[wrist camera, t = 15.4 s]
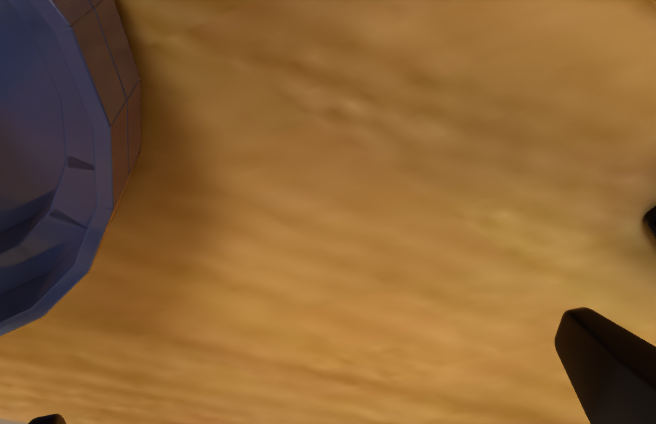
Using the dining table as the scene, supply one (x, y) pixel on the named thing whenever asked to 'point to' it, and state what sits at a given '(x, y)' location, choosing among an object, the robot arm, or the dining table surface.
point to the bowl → (60, 145)
